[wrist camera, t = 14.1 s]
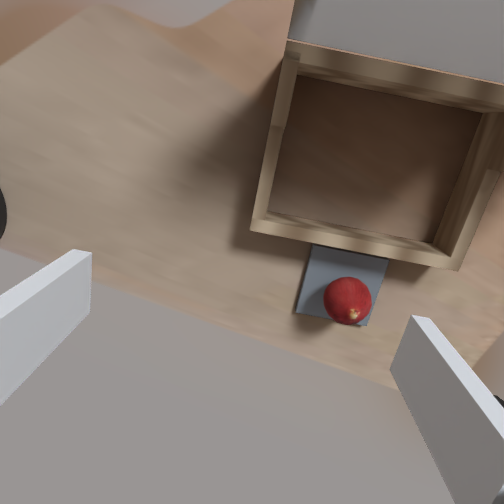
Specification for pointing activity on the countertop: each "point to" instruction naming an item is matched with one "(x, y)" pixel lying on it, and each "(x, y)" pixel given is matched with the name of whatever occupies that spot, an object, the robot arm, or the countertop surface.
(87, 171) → the countertop surface
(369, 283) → the slate mat
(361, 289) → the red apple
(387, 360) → the countertop surface
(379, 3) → the lid
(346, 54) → the box
